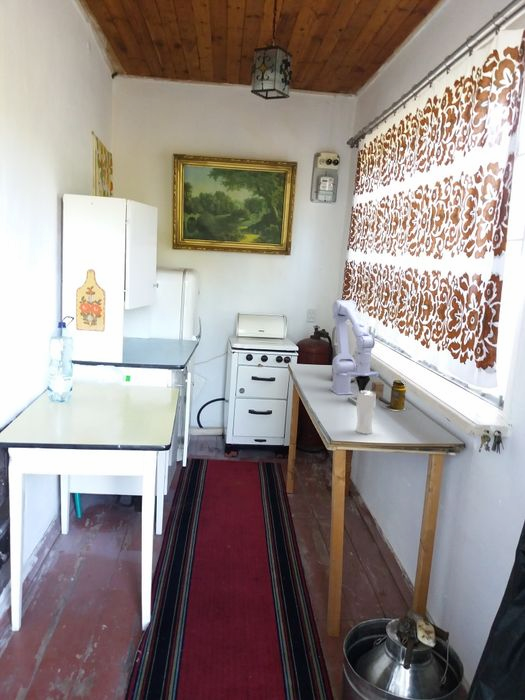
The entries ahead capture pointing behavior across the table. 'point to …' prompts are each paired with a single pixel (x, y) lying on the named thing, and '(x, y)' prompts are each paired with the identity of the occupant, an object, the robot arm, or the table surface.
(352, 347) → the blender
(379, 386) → the walnut block
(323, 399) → the table surface
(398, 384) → the condiment
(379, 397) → the dark gray rod
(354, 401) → the panel
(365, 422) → the beer glass
